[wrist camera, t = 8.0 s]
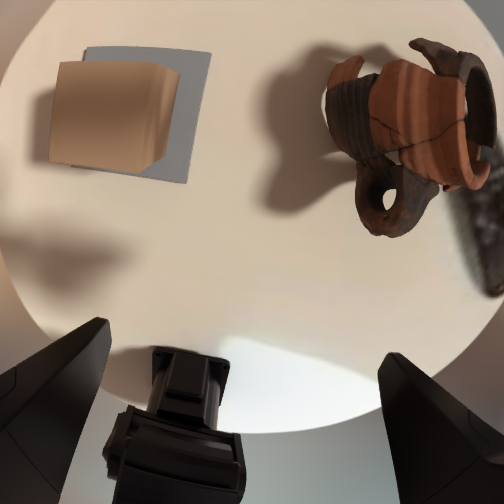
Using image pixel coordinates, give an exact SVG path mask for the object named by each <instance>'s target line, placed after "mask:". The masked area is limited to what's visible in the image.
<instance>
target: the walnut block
mask: <svg viewBox="0 0 504 504" xmlns="http://www.w3.org/2000/svg"><path fill="white" fill-rule="evenodd" d="M179 79H180V73H178V72H176V71H173V70H171V69H169V68H166V67H164V66H162V65H159V64H157V63H150V62H132V61H71V62H60V65H59V71H58V76H57V82H56V89H55V96H54V104H53V112H52V121H51V132H50V147H49V162H54V163H63V164H71V165H79V166H87V167H95V168H102V169H110V170H117V171H124V172H130V173H137V174H138V173H139V172H141V171H142V170H144V169H145V168H147V167H148V166H150V165H152V164H153V163H155V162H156V161H158V160H160V159H161V158H163V157H164V156H166V150H167V144H168V137H169V131H170V126H171V120H172V114H173V109H174V104H175V99H176V93H177V89H178V84H179Z"/></svg>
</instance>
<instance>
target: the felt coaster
mask: <svg viewBox="0 0 504 504" xmlns="http://www.w3.org/2000/svg"><path fill="white" fill-rule="evenodd" d="M211 55H212V54H211V53H208V52H200V51H191V50H181V49H169V48H155V47H128V46H103V47H87V51H86V55H85V60H84V61H132V62H150V63H157V64H159V65H162V66H164V67H166V68H169V69H171V70H173V71H176V72H178V73H180V79H179V84H178V89H177V93H176V99H175V104H174V109H173V114H172V120H171V126H170V131H169V137H168V144H167V150H166V156H164V157H163V158H161V159H160V160H158V161H156V162H155V163H153V164H152V165H150V166H148V167H147V168H145V169H144V170H142V171H141V172H139V173H138V174H137V173H130V172H124V171H117V170H110V169H102V168H95V167H87V166H79V165H71V167H76V168H84V169H92V170H100V171H107V172H114V173H121V174H128V175H134V176H141V177H147V178H154V179H160V180H166V181H172V182H178V183H183V184H186V183H187V178H188V172H189V165H190V159H191V154H192V148H193V142H194V137H195V131H196V126H197V121H198V116H199V111H200V106H201V101H202V96H203V91H204V86H205V82H206V77H207V73H208V68H209V64H210V60H211Z"/></svg>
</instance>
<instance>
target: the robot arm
mask: <svg viewBox="0 0 504 504" xmlns="http://www.w3.org/2000/svg"><path fill="white" fill-rule="evenodd" d="M111 343H112V338H111V331H110V323H109V320H107V319H105V318H100V317H95V318H93V319H92V320H90V321H88V322H87V323H85V324H83V325H82V326H80V327H78V328H77V329H75V330H73V331H72V332H70V333H68V334H67V335H65V336H63V337H62V338H60V339H58V340H57V341H55V342H53V343H52V344H50V345H48V346H47V347H45V348H44V349H42V350H40V351H39V352H37V353H35V354H34V355H32V356H30V357H29V358H27V359H26V360H24V361H22V362H21V363H19V364H17V365H16V366H14V367H12V368H11V369H9V370H8V371H6V372H4V373H3V374H1V375H0V504H58V503H59V500H60V496H61V495H60V494H61V492H62V489H63V486H64V483H65V480H66V476H67V473H68V470H69V467H70V464H71V461H72V458H73V455H74V452H75V449H76V447H77V444H78V441H79V438H80V435H81V432H82V430H83V427H84V424H85V422H86V419H87V417H88V414H89V411H90V409H91V406H92V404H93V401H94V399H95V396H96V393H97V391H98V388H99V386H100V382H101V379H102V375H103V372H104V368H105V365H106V361H107V358H108V354H109V351H110V348H111ZM159 353H160V354H159ZM223 365H225V366H223ZM229 370H230V362H229V361H227V360H223V359H217V358H211V357H206V356H200V355H195V354H190V353H184V352H179V351H175V350H170V349H165V348H160V347H156V348H154V350H153V353H152V385H153V388H152V392H151V396H150V399H149V403H148V406H147V410H146V411H143V410H140V409H137V408H135V406H132V405H128V407H127V410H126V412H123V413H119V414H118V416H117V419H116V422H115V425H114V428H113V430H112V433H111V435H110V436H109V438H108V440H107V442H106V444H105V446H104V448H103V452H102V455H103V457H104V459H105V461H106V462H107V469H108V474H107V477H108V478H109V479H112V480H116V481H117V482H116V486H115V491H114V496H113V501H112V504H240V502H241V500H242V498H243V495H244V492H245V487H246V466H245V460H244V455H243V449H242V443H241V436H240V434H238V433H227V432H222V431H218V430H217V420H218V408H219V406H220V405H221V401H222V397H223V393H224V389H225V385H226V382H227V378H228V374H229ZM378 383H379V390H380V398H381V406H382V413H383V418H384V422H385V427H386V431H387V436H388V440H389V445H390V450H391V455H392V460H393V465H394V470H395V476H396V481H397V487H398V493H399V499H400V504H504V435H503V434H501V433H500V432H498V431H497V430H496V429H494V428H493V427H491V426H490V425H489V424H487V423H486V422H484V421H483V420H482V419H481V418H479V417H478V416H477V415H476V414H474V413H473V412H472V411H470V409H468V408H467V407H466V406H465V405H463V404H462V403H461V402H460V401H458V400H457V399H456V398H455V397H454V396H452V395H451V394H450V393H449V392H447V391H446V390H445V389H444V388H443V387H441V386H440V385H439V384H438V383H436V382H435V381H434V380H433V379H431V378H430V377H429V376H428V375H427V374H425V373H424V372H423V371H422V370H420V369H419V368H418V367H417V366H415V365H414V364H413V363H412V362H410V361H409V360H408V359H407V358H405V357H404V356H403V355H402V354H400V353H398V352H390V353H388V354H387V355H386V357H385V358H384V360H383V362H382V364H381V366H380V367H379V369H378Z"/></svg>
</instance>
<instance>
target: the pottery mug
mask: <svg viewBox="0 0 504 504" xmlns="http://www.w3.org/2000/svg"><path fill="white" fill-rule="evenodd" d="M409 46H410V47H411V48H412V49H414V50H416V51H419V52H421V53H422V54H423V56H424V57H426V58H427V60H428V61H429V63H430V64H431V65H432V68H433V70H434V72H435V74H436V75H435V74H433V73H432V72H431V71H429V70H427V69H425V68H422V67H420V66H418V65H416V64H414V63H411V62H408V61H406V60H403V59H400V60H397V61H392V62H390V63H387V64H386V65H385V67H384V68H383V70H382V71H381V73H380V74H376V73H373V74H370V75H366V76H364V77H361V78H357V77H358V74H359V71H360V69H361V67H362V65H363V63H364V59H363V58H362V57H361V56H354V57H352V58H350V59H348V60H346V61H345V62H342V63H340V64H338V65H337V66H336V67H335V69H334V70H333V72H332V74H331V76H330V79H329V82H328V86H327V92H326V100H325V101H326V105H325V112H326V117H327V124H328V127H329V131H330V133H331V135H332V137H333V139H334V141H335V143H336V144H337V146H338V147H339V149H340V150H341V151H343V152H345V153H346V154H348V155H349V156H350V157H351V158H353V159H354V160H355V161H356V162H357V164H356V169H357V181H356V188H355V204H356V208H357V211H358V214H359V217H360V220H361V222H362V223H363V225H364V226H365V228H367V229H368V230H369V232H370V233H371V234H372V235H375V236H380V235H385V236H388V237H390V238H395V237H399V236H402V235H404V234H406V233H407V232H409V231H410V230H412V229H413V228H414V227H415V225H416V224H417V223H418V221H419V220H420V219H421V217H422V215H423V213H424V211H425V209H426V207H427V205H428V203H429V201H430V200H431V199H432V198H434V197H435V196H437V195H438V193H439V186H438V184H440V185H443V191H444V192H450V191H453V190H455V189H458V188H459V187H460V186H464V187H467V188H469V189H471V190H478V189H480V188H481V186H483V184H484V182H485V181H486V179H487V177H488V175H489V172H490V164H489V163H488V162H484V161H479V157H480V150H481V145H485V146H488V147H490V148H492V149H495V146H496V138H497V115H496V105H495V99H494V95H493V89H492V84H491V81H490V79H489V75H488V72H487V70H486V68H485V66H484V63H483V62H482V61H481V59H480V58H479V57H478V56H476V55H474V54H472V53H467V52H462V51H459V52H458V53H457V52H456V51H455V50H454V49H452V48H450V47H448V46H445V45H443V44H441V43H439V42H432V41H429V40H426V39H424V38H417V39H415V40H412V41H410V42H409ZM465 84H466V85H465ZM465 97H466V101H467V109H468V115H467V121H466V125H465V123H464V116H465V108H464V107H465ZM397 150H398V152H399V161H400V163H401V165H396V164H395V163H394V162H393V161H392V160H390V159H389V158H387V157H386V156H385V155H384V154H385V153H388V152H392V151H397ZM390 189H396V198H395V201H394V203H393V205H392V207H391V208H390V209H388V210H386V209H385V207H384V204H383V195H384V194H385V192H386V191H387V190H390Z"/></svg>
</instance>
